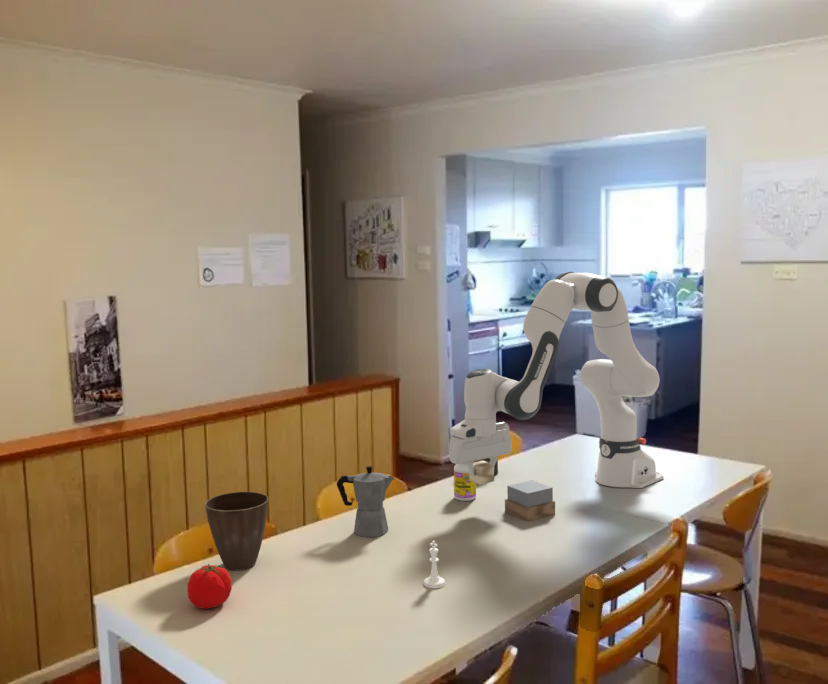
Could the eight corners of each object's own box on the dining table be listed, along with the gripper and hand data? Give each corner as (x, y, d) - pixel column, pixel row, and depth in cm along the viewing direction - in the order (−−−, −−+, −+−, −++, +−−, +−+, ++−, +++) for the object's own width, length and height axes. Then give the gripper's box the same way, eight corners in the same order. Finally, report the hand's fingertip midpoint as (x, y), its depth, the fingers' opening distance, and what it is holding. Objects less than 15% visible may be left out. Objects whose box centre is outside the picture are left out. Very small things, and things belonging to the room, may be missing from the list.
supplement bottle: (451, 500, 233) (450, 458, 231) (458, 493, 239) (457, 453, 237) (472, 502, 230) (471, 460, 229) (479, 495, 236) (478, 454, 235)
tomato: (191, 618, 160) (188, 579, 160) (184, 598, 170) (182, 562, 169) (236, 609, 164) (234, 571, 163) (227, 590, 174) (225, 554, 173)
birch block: (483, 477, 226) (483, 460, 225) (494, 481, 222) (493, 464, 221) (469, 480, 223) (469, 463, 222) (480, 484, 219) (479, 467, 218)
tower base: (531, 506, 227) (531, 492, 226) (555, 515, 219) (555, 501, 218) (505, 513, 221) (504, 499, 221) (528, 522, 213) (528, 508, 213)
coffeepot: (395, 524, 213) (393, 460, 211) (396, 536, 204) (394, 470, 202) (339, 526, 213) (337, 462, 211) (337, 538, 203) (334, 472, 201)
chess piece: (438, 590, 171) (437, 546, 170) (419, 585, 174) (418, 542, 172) (449, 581, 175) (448, 539, 174) (430, 577, 178) (429, 535, 177)
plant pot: (204, 559, 192) (200, 496, 190) (263, 548, 198) (260, 487, 196) (213, 581, 178) (210, 514, 177) (277, 569, 184) (274, 504, 182)
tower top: (532, 493, 226) (531, 480, 225) (552, 501, 218) (552, 487, 218) (507, 499, 221) (507, 485, 221) (527, 507, 213) (527, 493, 213)
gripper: (501, 419, 228) (502, 464, 230) (445, 429, 218) (446, 477, 219) (515, 422, 223) (516, 469, 225) (458, 434, 212) (459, 482, 214)
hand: (481, 473), depth 222 cm, fingers closed on birch block, 5 cm apart
